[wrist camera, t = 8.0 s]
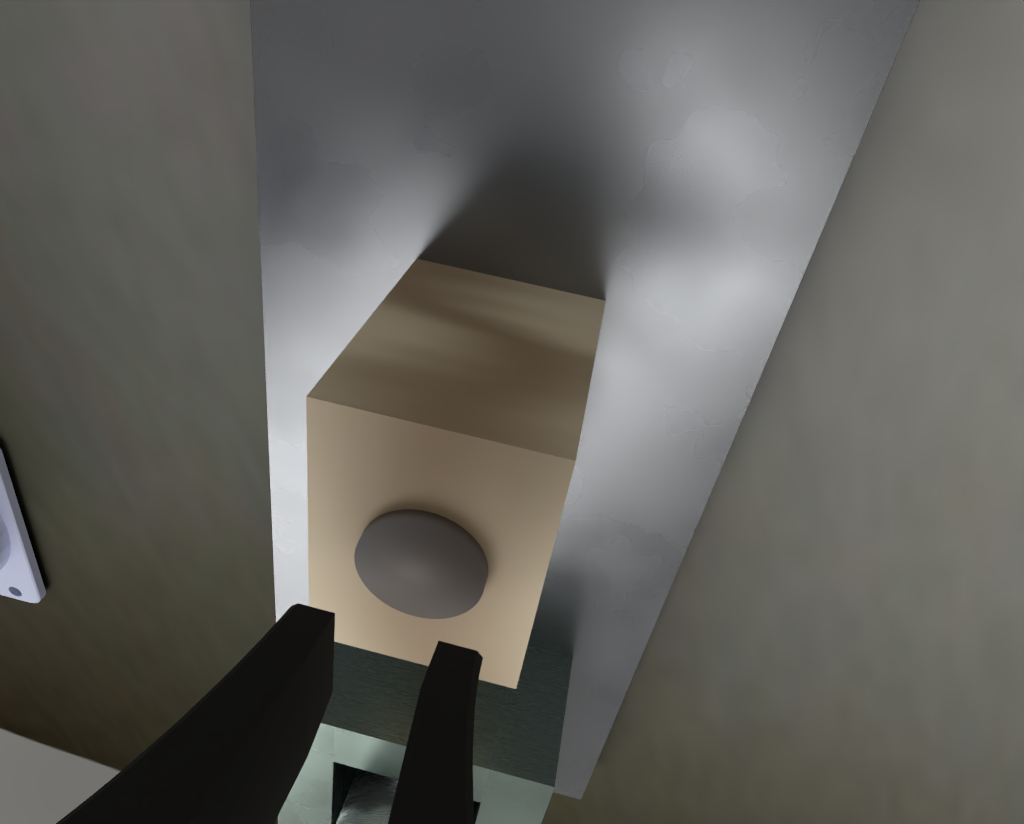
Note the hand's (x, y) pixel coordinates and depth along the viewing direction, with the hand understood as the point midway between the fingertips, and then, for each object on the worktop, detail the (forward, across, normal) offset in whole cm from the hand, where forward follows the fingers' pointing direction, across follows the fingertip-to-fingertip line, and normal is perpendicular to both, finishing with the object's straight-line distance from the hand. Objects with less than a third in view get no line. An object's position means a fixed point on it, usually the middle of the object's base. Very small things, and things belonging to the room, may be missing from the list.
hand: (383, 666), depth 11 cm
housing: (+8, 0, 0) cm, 8 cm away
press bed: (+9, 0, +2) cm, 10 cm away
